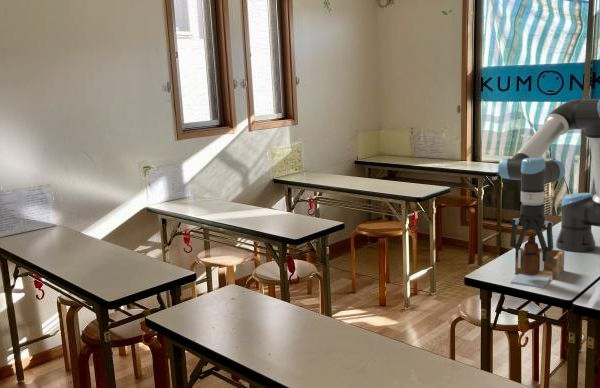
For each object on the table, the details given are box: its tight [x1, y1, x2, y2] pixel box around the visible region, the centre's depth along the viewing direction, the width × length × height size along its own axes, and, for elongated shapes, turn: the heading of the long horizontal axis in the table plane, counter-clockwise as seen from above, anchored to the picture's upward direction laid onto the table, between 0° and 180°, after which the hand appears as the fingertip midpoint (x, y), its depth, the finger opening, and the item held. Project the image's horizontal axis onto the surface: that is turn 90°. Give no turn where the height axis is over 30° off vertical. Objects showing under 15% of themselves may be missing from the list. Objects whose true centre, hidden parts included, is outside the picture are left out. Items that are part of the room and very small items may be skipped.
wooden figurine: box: [522, 232, 540, 275], centre depth 204 cm, size 7×6×15 cm
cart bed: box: [514, 246, 565, 281], centre depth 215 cm, size 13×14×9 cm
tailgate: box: [510, 274, 552, 289], centre depth 206 cm, size 1×11×10 cm
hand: (530, 268), depth 205 cm, fingers closed on wooden figurine, 6 cm apart
